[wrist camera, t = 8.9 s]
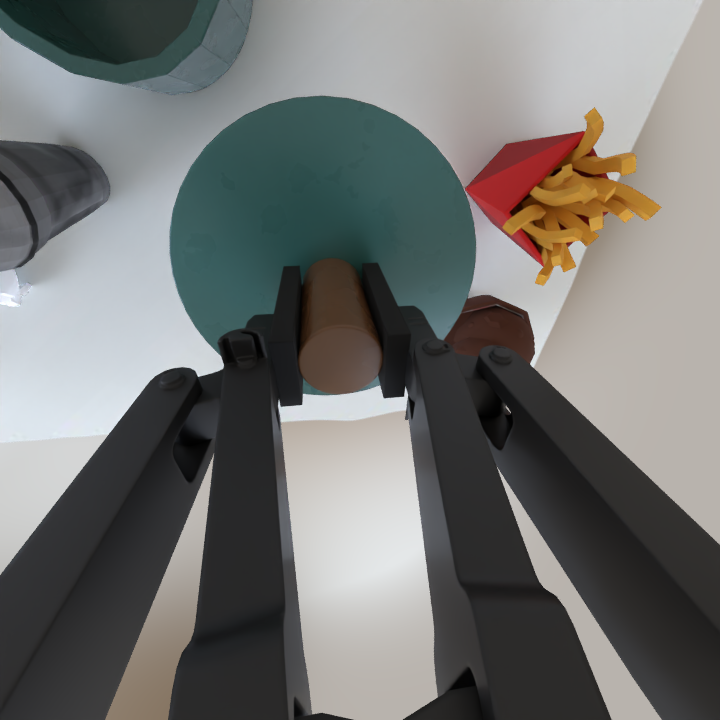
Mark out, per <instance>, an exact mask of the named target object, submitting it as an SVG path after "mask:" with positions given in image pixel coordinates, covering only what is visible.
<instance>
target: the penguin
mask: <svg viewBox="0 0 720 720" xmlns="http://www.w3.org/2000/svg"><path fill="white" fill-rule="evenodd" d="M15 272H16V271H15V270H14V269H10V270H6V271H1V272H0V304H6V305H8V306H10V307H16V306H20V305H21V301H22V300H21V298H22V296H26V295H27V293H29V289H30V287H31V286H32V285H31V284H29V283H26V284H23V285H20V286H19V282H18V277H17V274H16V273H15Z"/></svg>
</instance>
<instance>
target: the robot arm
mask: <svg viewBox="0 0 720 720" xmlns="http://www.w3.org/2000/svg"><path fill="white" fill-rule="evenodd" d="M362 285H363V288H364V292H365V295H366V298H367V301H368V304H369V308H370V311H371V314H372V317H373V320H374V323H375V327H376V330H377V333H378V336H379V339H380V343H381V346H382V349H383V365H382V368H381V370H380V372H379V374H378V378H379V382H380V385H381V389H382V393H383V397H384V398H393V397H404V392H405V386H406V389H407V392H408V401H407V409H406V417H405V420H408V418H409V425H410V433H411V442H412V450H413V458H414V466H415V474H416V482H417V490H418V498H419V506H420V515H421V523H422V531H423V538H424V548H425V556H426V564H427V572H428V580H429V588H430V596H431V604H432V613H433V621H434V664H435V675H436V684H437V693H438V698H436V699H435V700H433V701H432V702H430V703H429V704H427V705H425V706H424V707H422V708H420V709H419V710H417V711H416V712H414V713H413V714H411V715H410V716H408V717H406V718H405V719H403V720H611V717H610V715H609V712H608V710H607V707H606V705H605V702H604V700H603V697H602V695H601V692H600V690H599V687H598V685H597V682H596V680H595V677H594V675H593V672H592V670H591V667H590V665H589V662H588V660H587V658H586V655H585V653H584V650H583V647H582V645H581V643H580V640H579V638H578V635H577V633H576V630H575V628H574V625H573V623H572V621H571V619H570V617H569V615H568V613H567V611H566V609H565V607H564V606H563V605H562V603H561V602H560V601H559V599H558V598H557V597H556V596H555V595H554V594H552V593H550V592H549V591H548V590H546V589H545V588H543V586H542V585H541V583H540V582H539V580H538V578H537V576H536V574H535V571H534V568H533V566H532V563H531V560H530V557H529V554H528V552H527V549H526V546H525V544H524V541H523V538H522V536H521V533H520V530H519V527H518V524H517V521H516V519H515V516H514V513H513V511H512V508H511V505H510V502H509V499H508V497H507V494H506V491H505V488H504V486H503V483H502V480H501V477H500V475H499V472H498V469H499V470H500V472H501V473H502V475H503V476H504V478H505V480H506V481H507V483H508V484H509V486H510V487H511V489H512V490H513V492H514V494H515V495H516V497H517V498H518V500H519V501H520V503H521V504H522V506H523V508H524V509H525V510H526V512H527V514H528V515H529V517H530V518H531V520H532V521H533V523H534V524H535V526H536V528H537V529H538V531H539V532H540V534H541V536H542V537H543V539H544V540H545V542H546V543H547V545H548V546H549V548H550V549H551V551H552V552H553V554H554V556H555V557H556V559H557V560H558V562H559V563H560V565H561V567H562V568H563V570H564V571H565V572H566V574H567V576H568V577H569V579H570V581H571V582H572V583H573V585H574V587H575V588H576V590H577V591H578V593H579V595H580V596H581V598H582V599H583V601H584V602H585V604H586V605H587V607H588V609H589V610H590V612H591V613H592V615H593V616H594V618H595V619H596V621H597V622H598V624H599V626H600V627H601V629H602V630H603V632H604V633H605V635H606V636H607V638H608V639H609V641H610V643H611V644H612V646H613V647H614V649H615V650H616V652H617V653H618V655H619V656H620V658H621V660H622V661H623V663H624V664H625V666H626V668H627V669H628V671H629V672H630V674H631V675H632V677H633V678H634V680H635V681H636V683H637V684H638V686H639V687H640V689H641V690H642V691H643V693H644V694H645V696H646V697H647V699H648V700H649V701H650V703H651V704H652V706H653V707H654V709H655V710H656V712H657V713H658V715H659V716H660V717H661V719H662V720H720V545H719V544H718V543H717V542H716V541H715V540H714V539H713V538H712V537H711V536H710V535H709V534H708V533H707V532H706V531H705V530H704V529H702V528H701V527H700V526H699V525H698V524H697V523H696V522H695V521H694V520H693V519H692V518H691V517H690V516H689V515H687V513H686V512H685V511H684V510H682V509H681V508H680V507H679V506H678V505H677V504H676V503H675V502H674V501H673V500H672V499H671V498H670V497H669V496H667V494H665V492H663V491H662V490H661V489H660V488H659V487H658V486H657V485H656V484H655V483H654V482H653V481H652V480H651V479H650V478H649V477H648V476H647V475H646V474H645V473H644V472H642V471H641V470H640V469H639V468H638V467H637V466H636V465H635V464H634V463H633V462H632V461H631V460H630V459H629V458H627V456H626V455H625V454H623V453H622V452H621V451H620V450H619V449H618V448H617V447H616V446H615V445H614V444H613V443H612V442H611V441H610V440H609V439H608V438H607V437H606V436H605V435H603V434H602V433H601V432H600V431H599V430H598V429H597V428H596V427H595V426H594V425H593V424H592V423H591V422H590V421H589V420H588V419H586V417H584V416H583V415H582V414H581V413H580V412H579V411H578V410H577V409H576V408H575V407H574V406H573V405H572V404H571V403H570V402H569V401H568V400H567V399H566V398H564V397H563V396H562V395H561V394H560V393H559V392H558V391H557V390H556V389H555V388H554V387H553V386H552V385H551V384H550V383H549V382H548V381H547V380H546V379H544V378H543V377H542V376H541V375H540V374H539V373H538V372H537V371H536V370H535V369H534V368H533V367H532V366H531V365H530V364H529V363H528V362H527V361H525V360H524V359H523V358H522V357H521V356H520V355H519V354H518V353H516V352H515V351H514V350H512V349H509V348H507V347H504V346H498V345H489V346H486V347H483V348H482V349H481V350H480V352H479V355H478V356H470V355H463V354H458V353H455V351H454V348H453V347H452V346H451V344H449V343H448V342H446V341H444V340H441V339H438V338H437V336H436V334H435V333H434V331H433V329H432V327H431V326H430V324H429V322H428V321H427V319H426V317H425V315H424V314H423V312H422V311H421V310H420V309H418V308H417V307H415V306H414V305H412V306H398V305H397V302H396V300H395V298H394V296H393V294H392V292H391V290H390V288H389V285H388V283H387V281H386V279H385V277H384V275H383V273H382V270H381V268H380V266H379V264H378V263H362ZM301 297H302V281H301V272H300V266H283V271H282V276H281V281H280V286H279V291H278V295H277V300H276V305H275V310H274V314H260V315H254V316H253V317H252V318H251V319H249V320H248V321H247V324H246V327H245V328H241V329H236V330H232V331H230V332H228V333H225V334H224V335H223V336H221V337H220V338H219V340H218V342H217V344H218V347H219V351H220V354H221V357H222V360H223V363H224V369H222V370H220V371H218V372H215V373H212V374H208V375H204V376H200V377H198V376H197V374H196V372H195V371H194V370H192V369H191V368H184V367H181V368H173V369H170V370H167V371H164V372H162V373H160V374H159V375H157V376H155V377H154V378H153V379H152V380H151V381H150V382H149V383H148V385H147V386H146V387H145V388H144V390H143V391H142V392H141V394H140V395H139V396H138V397H137V399H136V400H135V401H134V403H133V404H132V405H131V407H130V408H129V409H128V410H127V412H126V413H125V414H124V416H123V417H122V418H121V419H120V421H119V422H118V423H117V425H116V426H115V427H114V429H113V430H112V431H111V432H110V434H109V435H108V436H107V438H106V439H105V440H104V442H103V443H102V444H101V445H100V447H99V448H98V450H97V451H96V452H95V453H94V454H93V456H92V457H91V458H90V460H89V461H88V462H87V464H86V465H85V466H84V467H83V469H82V470H81V471H80V473H79V474H78V475H77V476H76V478H75V479H74V480H73V482H72V483H71V484H70V485H69V487H68V488H67V489H66V491H65V492H64V493H63V495H62V496H61V497H60V498H59V500H58V501H57V502H56V504H55V505H54V506H53V507H52V509H51V510H50V511H49V513H48V514H47V515H46V517H45V518H44V519H43V520H42V522H41V523H40V524H39V526H38V527H37V528H36V530H35V531H34V532H33V533H32V535H31V536H30V537H29V539H28V540H27V541H26V542H25V544H24V545H23V546H22V548H21V549H20V550H19V552H18V553H17V554H16V555H15V557H14V558H13V559H12V561H11V562H10V564H9V565H8V566H7V567H6V568H5V570H4V571H3V572H2V574H1V575H0V720H105V718H106V716H107V713H108V711H109V708H110V706H111V704H112V701H113V699H114V696H115V694H116V691H117V689H118V686H119V684H120V682H121V679H122V677H123V674H124V672H125V669H126V667H127V664H128V662H129V660H130V657H131V655H132V652H133V650H134V647H135V645H136V642H137V640H138V638H139V635H140V633H141V630H142V628H143V625H144V623H145V620H146V618H147V615H148V613H149V611H150V608H151V606H152V603H153V601H154V598H155V596H156V593H157V591H158V588H159V586H160V584H161V581H162V579H163V576H164V574H165V572H166V569H167V566H168V564H169V562H170V559H171V557H172V554H173V552H174V549H175V547H176V545H177V542H178V540H179V537H180V535H181V532H182V530H183V528H184V525H185V523H186V520H187V518H188V515H189V513H190V510H191V508H192V506H193V503H194V501H195V498H196V496H197V493H198V490H199V488H200V486H201V483H202V481H203V479H204V476H205V474H206V471H207V469H208V466H209V464H210V461H211V459H212V457H213V454H214V460H213V469H212V478H211V487H210V496H209V505H208V514H207V524H206V532H205V541H204V550H203V559H202V569H201V578H200V586H199V595H198V604H197V614H196V622H195V628H194V633H193V636H192V639H191V641H190V642H189V644H188V645H187V647H186V648H185V649H184V651H183V652H182V654H181V657H180V660H179V663H178V666H177V669H176V674H175V679H174V684H173V689H172V696H171V703H170V710H169V718H168V720H352V719H348V718H343V717H338V716H334V715H329V714H325V713H319V714H312V710H311V700H310V691H309V683H308V676H307V669H306V663H305V657H304V650H303V642H302V632H301V622H300V612H299V602H298V592H297V582H296V572H295V564H294V563H295V562H294V552H293V542H292V532H291V522H290V512H289V502H288V493H287V482H286V472H285V462H284V452H283V442H282V433H281V422H280V414H279V409H278V400H280V405H281V407H283V406H295V405H302V398H303V377H302V375H301V373H300V371H299V366H298V344H299V329H300V313H301ZM506 406H507V407H508V408H509V410H510V411H511V413H510V412H509V411H508V410H507V409H506ZM497 467H498V469H497Z"/></svg>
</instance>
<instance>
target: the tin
mask: <svg viewBox="0 0 720 720" xmlns="http://www.w3.org/2000/svg"><path fill="white" fill-rule="evenodd" d="M252 1H253V0H0V28H1V29H2V30H3V31H4V32H5V33H6V34H7V35H8V36H9V37H10V38H12V39H14V40H15V41H16V42H18V43H20V44H21V45H23V46H25V47H27V48H28V49H30V50H32V51H34V52H35V53H37V54H39V55H41V56H42V57H44V58H46V59H48V60H49V61H51V62H53V63H55V64H56V65H58V66H60V67H62V68H64V69H65V70H67V71H69V72H71V73H74V74H77V75H82V76H87V77H91V78H96V79H100V80H105V81H110V82H114V83H119V84H123V85H128V86H133V87H138V88H142V89H147V90H152V91H156V92H161V93H166V94H170V95H176V94H181V93H189V92H193V91H197V90H200V89H204V88H205V87H207V86H209V85H211V84H212V83H213V82H215V81H216V80H218V79H219V78H220V77H221V76H222V75H223V74H224V73H225V72H226V71H227V70H228V69H229V68H230V66H231V65H232V64H233V62H234V61H235V59H236V58H237V56H238V54H239V52H240V50H241V48H242V46H243V43H244V40H245V37H246V34H247V31H248V27H249V22H250V17H251V10H252Z"/></svg>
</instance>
